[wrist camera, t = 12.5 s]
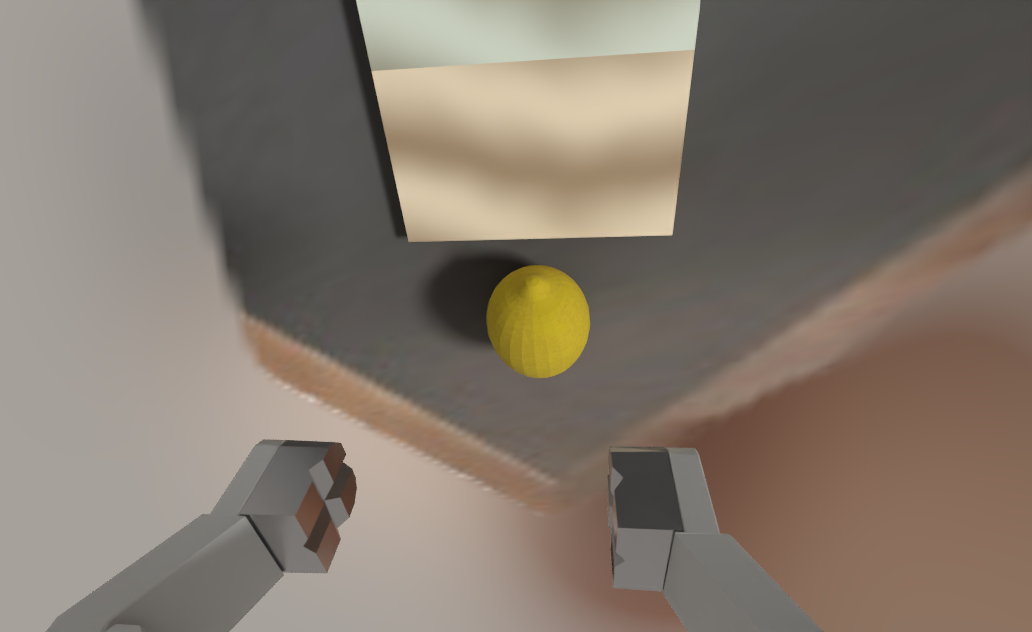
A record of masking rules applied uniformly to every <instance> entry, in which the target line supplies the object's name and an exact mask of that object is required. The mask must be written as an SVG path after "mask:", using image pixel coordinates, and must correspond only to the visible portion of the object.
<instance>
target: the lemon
mask: <svg viewBox="0 0 1032 632" xmlns="http://www.w3.org/2000/svg"><path fill="white" fill-rule="evenodd" d="M486 319H487V328H488V335H489V338H490V340H491V342H492V345H493V347H494V349H495V351H496V353H497V354H498V355H499V356H500V358H501V359H502V360H503V361H504V362H505V364H507V365H508V366H509V367H510V368H512V369H513V370H515V371H516V372H518V373H520V374H523V375H525V376H528V377H535V378H545V377H551V376H554V375H557V374H560V373H562V372H563V371H565V370H566V369H568V368H569V367H570V366H571V365H572V364H573V363H574V362H575V361H576V360H577V359H578V358H579V356H580V354H581V352H582V350H583V348H584V347H585V345H586V342H587V338H588V333H589V328H590V318H589V309H588V305H587V302H586V299H585V297H584V294H583V292H582V290H581V289H580V288H579V286H578V285H577V284H576V283H575V281H574V280H573V279H572V278H570V277H569V276H568V275H566V274H565V273H564V272H562V271H560V270H558V269H555V268H553V267H548V266H543V265H531V266H527V267H522V268H520V269H518V270H515V271H513V272H511V273H510V274H509V275H507V276H506V277H505V278H503V279H502V281H501V282H500V283H499V284H498V285H497V286H496V288H495V289H494V291H493V293H492V296H491V298H490V300H489V303H488V309H487V316H486Z"/></svg>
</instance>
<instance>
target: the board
mask: <svg viewBox="0 0 1032 632" xmlns="http://www.w3.org/2000/svg"><path fill="white" fill-rule="evenodd" d="M356 2H357V7H358V11H359V16H360V21H361V25H362V30H363V34H364V39H365V44H366V48H367V53H368V57H369V62H370V67H371V71H372V76H373V80H374V85H375V90H376V94H377V99H378V103H379V108H380V113H381V117H382V122H383V126H384V131H385V136H386V140H387V145H388V149H389V154H390V159H391V163H392V168H393V172H394V177H395V182H396V186H397V191H398V195H399V200H400V205H401V209H402V214H403V218H404V223H405V228H406V232H407V237H408V241H409V242H423V241H462V240H502V239H541V238H580V237H619V236H658V235H672V233H673V225H674V217H675V208H676V200H677V192H678V183H679V175H680V167H681V158H682V150H683V142H684V133H685V125H686V117H687V109H688V100H689V92H690V84H691V75H692V67H693V59H694V50H695V42H696V34H697V25H698V17H699V9H700V0H356Z"/></svg>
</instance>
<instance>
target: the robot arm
mask: <svg viewBox="0 0 1032 632" xmlns="http://www.w3.org/2000/svg"><path fill="white" fill-rule="evenodd" d="M345 456H346V453H345V451H344V448H343V446H342V444H341V443H335V442H316V441H293V440H262V441H261V442H259V443H258V444H256V445H255V447H254V448H253V449H252V451H251V452H250V454H249V455H248V457H247V458H246V460H245V462H244V463H243V465H242V466H241V468H240V469H239V471H238V472H237V474H236V475H235V477H234V478H233V480H232V481H231V483H230V484H229V486H228V488H227V489H226V491H225V492H224V494H223V495H222V497H221V498H220V500H219V501H218V503H217V504H216V506H215V507H214V509H213V510H212V512H211V513H210V514H202V515H201V516H199V517H198V518H196V519H195V520H194V521H192V522H191V523H189V524H188V525H187V526H185V527H184V528H182V529H181V530H180V531H178V532H177V533H175V534H174V535H172V536H171V537H170V538H168V539H167V540H165V541H164V542H163V543H161V544H160V545H159V546H157V547H156V548H154V549H153V550H151V551H150V552H149V553H147V554H146V555H144V556H143V557H141V558H140V559H139V560H137V561H136V562H135V563H133V564H132V565H130V566H129V567H127V568H126V569H124V570H123V571H122V572H120V573H119V574H117V575H116V576H115V577H113V578H112V579H110V580H109V581H108V582H106V583H105V584H103V585H102V586H101V587H100V588H98V589H96V590H95V591H93V592H92V593H91V594H89V595H88V596H86V597H85V598H84V599H82V600H81V601H79V602H78V603H77V604H75V605H74V606H72V607H71V608H70V609H68V610H67V611H65V612H64V613H62V614H61V615H60V616H58V617H57V618H56V619H55V621H54V622H53V623H52V625H51V626H50V627H49V628H48V630H47V631H46V632H229V631H230V630H231V629H232V628H233V627H234V626H235V625H236V624H237V623H238V622H239V621H240V620H241V619H242V618H243V617H244V616H245V615H246V613H248V612H249V611H250V609H252V608H253V606H254V605H255V604H256V603H257V602H258V601H259V600H260V599H261V598H262V597H263V596H264V595H265V594H266V593H267V592H268V591H269V590H270V589H271V588H272V587H273V586H274V585H275V583H277V582H278V580H280V578H282V577H283V575H284V574H283V572H291V573H293V572H295V573H327V572H328V569H329V567H330V565H331V562H332V560H333V557H334V555H335V552H336V550H337V547H338V545H339V542H340V535H339V532H338V529H337V528H338V527H339V526H340V525H341V524H342V523H343V522H345V521H346V520H347V519H348V518H349V517H350V514H351V512H352V509H353V506H354V503H355V496H356V490H357V486H356V477H355V475H354V472H353V470H352V468H350V467H349V466H347V465H346V464H345V463H343V460H344V458H345ZM608 462H609V475H608V477H607V507H608V524H609V528H610V529H611V547H610V552H611V565H612V577H613V588H624V589H637V590H649V591H663V595H664V597H665V598H666V600H667V601H668V603H669V604H670V606H671V607H672V609H673V610H674V612H675V613H676V615H677V616H678V618H679V619H680V621H681V622H682V624H683V625H684V627H685V628H686V630H687V631H688V632H823V631H822V630H821V629H820V628H819V627H818V626H817V624H816V623H815V622H814V621H813V620H812V619H811V618H810V617H809V616H808V615H807V614H806V613H805V612H804V611H803V610H802V609H801V608H800V607H799V606H798V605H797V604H796V603H795V602H794V601H793V600H792V599H791V598H790V596H789V595H787V593H786V592H785V591H784V590H783V589H782V588H781V587H780V586H779V585H778V584H777V583H776V582H775V581H774V580H773V579H772V578H771V577H770V576H769V575H768V574H767V573H766V572H765V571H764V570H763V568H761V566H760V565H759V564H758V563H757V562H756V561H755V560H754V559H753V558H752V557H751V556H750V555H749V554H748V553H747V552H746V551H745V550H744V549H743V548H742V547H741V546H740V545H739V544H738V543H737V542H736V541H735V539H734V538H733V537H732V536H731V535H730V534H721V533H720V532H719V528H718V524H717V520H716V517H715V513H714V509H713V506H712V502H711V498H710V494H709V491H708V487H707V483H706V480H705V476H704V472H703V469H702V465H701V461H700V457H699V454H698V452H697V451H696V449H695V448H664V447H610V448H609V457H608Z"/></svg>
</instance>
